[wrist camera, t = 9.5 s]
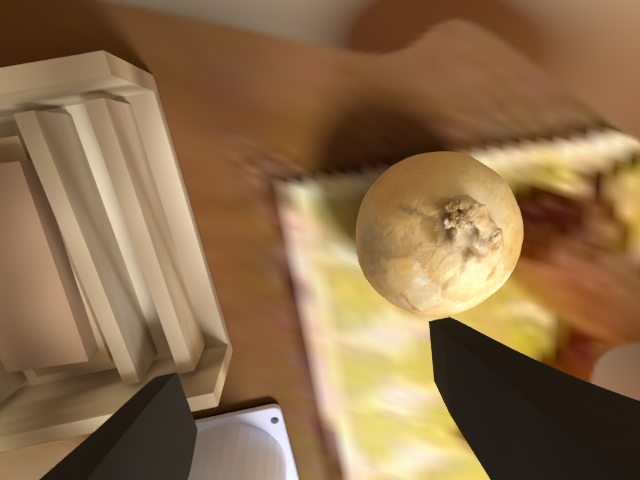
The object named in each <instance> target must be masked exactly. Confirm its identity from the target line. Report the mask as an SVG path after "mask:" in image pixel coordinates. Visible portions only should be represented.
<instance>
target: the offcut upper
mask: <svg viewBox="0 0 640 480" xmlns="http://www.w3.org/2000/svg"><path fill="white" fill-rule="evenodd" d="M98 350H99V348H98V345H97V342H96V339H95V336H94V333H93V330H92V327H91V324H90V321H89V318H88V315H87V312H86V309H85V306H84V303H83V300H82V297H81V294H80V291H79V288H78V285H77V282H76V279H75V276H74V273H73V270H72V267H71V264H70V261H69V258H68V255H67V252H66V249H65V246H64V243H63V240H62V237H61V234H60V231H59V228H58V225H57V222H56V219H55V216H54V213H53V210H52V208H51V205H50V203H49V200H48V198H47V195H46V193H45V191H44V188H43V186H42V183H41V181H40V178H39V176H38V174H37V171H36V169H35V166H34V164H33V161H32V160H30V161H17V162H7V163H0V358H1V360H2V363H3V365H4V367H5V370H6V372H7V373H8V372H15V371H22V370H29V369H36V368H43V367H50V366H58V365H65V364H72V363H79V362H86V361H89V360H90V359H91V358H92V357H93V356H94V355H95V354H96V352H97V351H98Z"/></svg>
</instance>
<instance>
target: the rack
mask: <svg viewBox="0 0 640 480" xmlns="http://www.w3.org/2000/svg"><path fill="white" fill-rule="evenodd" d="M17 135H21V136H22V137H23V139H24V142H25V144H26V147H27V149H28V152H29V154H30V156H31V159H32V161H33V164H34V166H35V169H36V171H37V174H38V176H39V178H40V181H41V183H42V186H43V188H44V191H45V193H46V195H47V198H48V200H49V203H50V205H51V208H52V210H53V213H54V215H55V217H56V220H57V222H58V225H59V227H60V230H61V232H62V235H63V237H64V239H65V242H66V244H67V247H68V249H69V252H70V254H71V257H72V259H73V261H74V264H75V266H76V269H77V271H78V274H79V276H80V279H81V281H82V283H83V286H84V288H85V291H86V293H87V296H88V298H89V300H90V303H91V305H92V308H93V310H94V313H95V315H96V318H97V320H98V322H99V325H100V327H101V330H102V332H103V335H104V337H105V340H106V342H107V344H108V347H109V349H110V352H111V354H112V357H113V360H112V362H109V363H104V364H99V365H94V366H89V367H84V368H80V369H75V370H70V371H65V372H60V373H55V374H50V375H45V376H40V377H37V376H36V374H35V372H34V370H33V369H29V370H22V371H15V372H8V373H7V372H6V370H5V367H4V365H3V363H2V360H1V358H0V452H3V451H8V450H13V449H18V448H22V447H27V446H32V445H37V444H41V443H46V442H51V441H56V440H60V439H65V438H70V437H75V436H79V435H84V434H89V433H93V432H94V431H96V430H97V429H98V428H99V427H100V426H101V425H102V424H103V423H104V422H105V421H106V420H107V419H109V418H110V417H111V416H112V415H113V414H114V413H115V412H116V411H117V410H118V409H119V408H120V407H122V406H123V405H124V404H125V403H126V402H127V401H128V400H129V399H130V398H131V397H132V396H133V395H135V394H136V393H137V392H138V391H139V390H140V389H141V388H142V387H144V386H145V385H146V384H147V383H148V382H149V381H151V380H152V379H153V378H154V377H156V376H161V375H166V374H171V373H176V372H177V373H178V376H179V379H180V382H181V384H182V387H183V390H184V393H185V396H186V398H187V401H188V404H189V407H190V410H191V412H193V411H198V410H203V409H208V408H212V407H217V406H218V404H219V400H220V397H221V393H222V389H223V385H224V382H225V378H226V374H227V371H228V367H229V363H230V359H231V356H232V352H233V350H232V346H231V343H230V339H229V336H228V332H227V329H226V325H225V322H224V318H223V315H222V311H221V308H220V305H219V301H218V298H217V294H216V291H215V287H214V284H213V280H212V277H211V273H210V270H209V267H208V263H207V260H206V256H205V253H204V249H203V246H202V242H201V239H200V235H199V232H198V229H197V225H196V222H195V218H194V215H193V211H192V208H191V204H190V201H189V197H188V194H187V191H186V187H185V184H184V180H183V177H182V173H181V170H180V166H179V163H178V159H177V156H176V152H175V149H174V146H173V142H172V139H171V135H170V132H169V128H168V125H167V121H166V118H165V114H164V111H163V108H162V104H161V101H160V97H159V94H158V90H157V87H156V83H155V80H154V76H153V75H152V74H150V73H148V72H146V71H144V70H142V69H140V68H138V67H136V66H134V65H132V64H130V63H128V62H126V61H124V60H122V59H120V58H118V57H116V56H114V55H112V54H110V53H108V52H106V51H104V50H102V51H96V52H90V53H84V54H78V55H73V56H67V57H61V58H55V59H49V60H43V61H37V62H32V63H26V64H20V65H14V66H8V67H2V68H0V138H6V137H11V136H17Z"/></svg>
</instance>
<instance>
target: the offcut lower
mask: <svg viewBox="0 0 640 480" xmlns="http://www.w3.org/2000/svg"><path fill="white" fill-rule="evenodd" d="M30 160H32V159H31V156H30V154H29V152H28V149H27V147H26V144H25V142H24V139H23V137H22V136H21V135H17V136H11V137H6V138H0V163H7V162H17V161H30ZM54 216H55V215H54ZM55 219H56V217H55ZM56 222H57V220H56ZM57 225H58V222H57ZM58 228H59V231H60V234H61V237H62V240H63V243H64V246H65V249H66V252H67V255H68V258H69V261H70V264H71V267H72V270H73V273H74V276H75V279H76V282H77V285H78V288H79V291H80V294H81V297H82V300H83V303H84V306H85V309H86V312H87V315H88V318H89V321H90V324H91V327H92V330H93V333H94V336H95V339H96V342H97V345H98V348H99V350H98V351H97V352H96V354H95V355H94V356H93V357H92V358H91V359H90V360H89V361H86V362H79V363H72V364H65V365H58V366H50V367H43V368H36V369H33V370H34V372H35V374H36V376H37V377H40V376H45V375H50V374H55V373H60V372H65V371H70V370H75V369H80V368H84V367H89V366H94V365H99V364H104V363H109V362H112V360H113V357H112V354H111V352H110V349H109V347H108V344H107V342H106V340H105V337H104V335H103V332H102V330H101V327H100V325H99V322H98V320H97V318H96V315H95V313H94V310H93V308H92V305H91V303H90V300H89V298H88V296H87V293H86V291H85V288H84V286H83V283H82V281H81V279H80V276H79V274H78V271H77V269H76V266H75V264H74V261H73V259H72V257H71V254H70V252H69V249H68V247H67V244H66V242H65V239H64V237H63V235H62V232H61V230H60V227H59V225H58Z"/></svg>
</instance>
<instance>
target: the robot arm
mask: <svg viewBox="0 0 640 480" xmlns="http://www.w3.org/2000/svg"><path fill="white" fill-rule="evenodd" d="M429 328H430V339H431V350H432V361H433V372H434V381H435V383H436V385H437V388H438V390H439V392H440V394H441V396H442V398H443V401H444V403H445V405H446V407H447V409H448V411H449V413H450V415H451V417H452V418H453V420H454V421H455V423H456V425H457V426H458V428H459V430H460V431H461V433H462V434H463V436H464V438H465V439H466V441H467V443H468V444H469V446H470V447H471V449H472V451H473V452H474V454H475V455H476V457H477V459H478V460H479V462H480V463H481V465H482V467H483V468H484V470H485V471H486V473H487V475H488V476H489V478H490V479H491V480H640V401H638V400H635V399H632V398H629V397H626V396H623V395H621V394H618V393H615V392H612V391H610V390H607V389H604V388H602V387H599V386H597V385H594V384H591V383H589V382H586V381H583V380H581V379H578V378H576V377H573V376H571V375H568V374H566V373H564V372H561V371H559V370H557V369H555V368H552V367H550V366H548V365H546V364H543V363H541V362H539V361H537V360H534V359H532V358H530V357H528V356H526V355H524V354H522V353H520V352H518V351H516V350H514V349H512V348H510V347H508V346H506V345H504V344H502V343H500V342H498V341H496V340H494V339H492V338H490V337H488V336H486V335H484V334H482V333H480V332H478V331H476V330H475V329H473V328H471V327H469V326H467V325H465V324H463V323H461V322H459V321H457V320H455V319H453V318H451V317H448V318H443V319H438V320H433V321H429ZM273 417H277V419H272V418H273ZM40 480H299V477H298V474H297V470H296V466H295V462H294V458H293V454H292V450H291V446H290V442H289V439H288V435H287V431H286V427H285V423H284V419H283V415H282V411H281V408H280V406H279V405H277V404H269V405H264V406H259V407H255V408H250V409H245V410H240V411H236V412H231V413H226V414H222V415H217V416H212V417H207V418H203V419H198V420H194V418H193V415H192V412H191V410H190V407H189V404H188V401H187V398H186V396H185V393H184V390H183V387H182V384H181V382H180V379H179V376H178V373H177V372H176V373H171V374H166V375H161V376H156V377H154V378H153V379H152V380H151V381H149V382H148V383H147V384H146V385H145V386H144V387H142V388H141V389H140V390H139V391H138V392H137V393H136V394H135V395H133V396H132V397H131V398H130V399H129V400H128V401H127V402H126V403H125V404H124V405H123V406H122V407H120V408H119V409H118V410H117V411H116V412H115V413H114V414H113V415H112V416H111V417H110V418H109V419H107V420H106V421H105V422H104V423H103V424H102V425H101V426H100V427H99V428H98V429H97V430H96V431H94V432H93V433H92V434H91V435H90V436H89V437H88V438H87V439H86V440H85V441H83V442H82V443H81V444H80V445H79V446H78V447H76V448H75V449H74V450H73V451H72V452H71V453H70V454H68V455H67V456H66V457H65V458H64V459H63V460H62V461H60V462H59V463H58V464H57V465H56V466H55V467H53V468H52V469H51V470H50V471H49V472H48V473H47V474H45V475H44V476H43V477H42V478H41V479H40Z"/></svg>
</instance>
